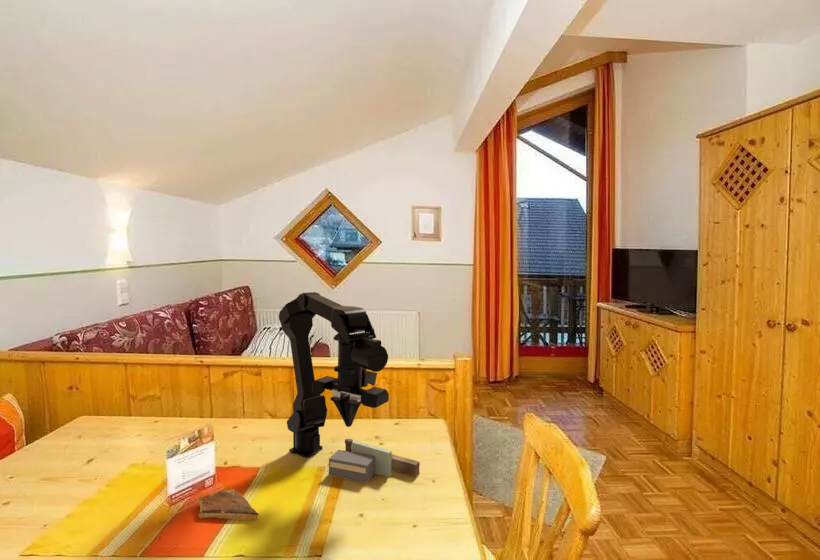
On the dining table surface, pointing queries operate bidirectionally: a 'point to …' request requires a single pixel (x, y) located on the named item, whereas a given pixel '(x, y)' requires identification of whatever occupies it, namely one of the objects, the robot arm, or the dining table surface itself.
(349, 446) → the hinge post
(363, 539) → the dining table surface
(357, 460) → the grey block
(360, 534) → the dining table surface
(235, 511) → the shard
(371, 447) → the door
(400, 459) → the bar
